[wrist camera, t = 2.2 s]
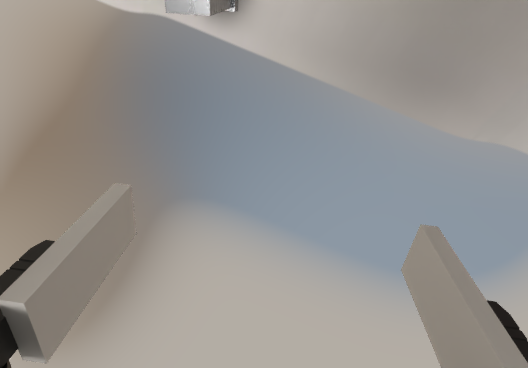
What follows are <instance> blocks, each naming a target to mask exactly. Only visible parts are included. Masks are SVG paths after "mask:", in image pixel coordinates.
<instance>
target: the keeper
mask: <svg viewBox="0 0 528 368" xmlns="http://www.w3.org/2000/svg"><path fill="white" fill-rule="evenodd" d="M165 7H166V13H177V14H191V15H205V16H211V15H214V14H217V13H219V12H222V11H237V0H165Z"/></svg>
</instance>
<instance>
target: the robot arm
mask: <svg viewBox="0 0 528 368" xmlns="http://www.w3.org/2000/svg"><path fill="white" fill-rule="evenodd" d="M136 233H137V232H136V223H135V214H134V205H133V197H132V187H131V185H126V184H119V183H114V184H113V185H112V186H111V187H110V188H109V189H108V190H107V191H106V192H105V193H104V194H103V195H102V196H101V197H100V198H99V199H98V200H97V201H96V202H95V203H94V204H93V205H92V206H91V207H90V208H89V209H88V210H87V211H86V212H85V213H84V214H83V215H82V216H81V217H80V218H79V219H78V220H77V221H76V222H75V223H74V224H73V225H72V226H71V227H70V228H69V229H68V230H67V231H66V232H64V233H63V234H62V236H60V238H58V240H56V241H49V240H45V241H43V242H41V243H40V244H38V245H36V246H34V247H32V248H31V249H30V250H28V251H27V252H26V253H25V254H24V255H23V256H22V257H21V258H20V259H19V261H16V262H15V263H14V264H13V265H12V266H11V267H10V269H9V270H6V272H4V273H3V274H2V275H1V276H0V368H11V365H10V362H9V359H10V358H11V356H12V355H13V354H14V353H15V351H16V350H17V349H18V350H19V353H20V355H21V357H22V359H23V360H26V361H33V362H40V363H47V362H48V360H49V359H50V357H51V356H52V355H53V353H54V352H55V350H56V349H57V348H58V346H59V345H60V343H61V342H62V340H63V339H64V337H65V336H66V335H67V333H68V332H69V330H70V329H71V327H72V326H73V324H74V323H75V322H76V320H77V319H78V317H79V316H80V314H81V313H82V311H83V310H84V309H85V307H86V306H87V304H88V303H89V301H90V300H91V298H92V297H93V296H94V294H95V293H96V291H97V290H98V288H99V287H100V285H101V284H102V282H103V281H104V280H105V278H106V277H107V275H108V274H109V272H110V271H111V270H112V268H113V267H114V265H115V264H116V262H117V261H118V259H119V258H120V257H121V255H122V254H123V252H124V251H125V249H126V248H127V246H128V245H129V243H130V242H131V241H132V239H133V238H134V236H135V235H136ZM401 271H402V273H403V276H404V278H405V281H406V283H407V286H408V288H409V290H410V293H411V295H412V298H413V300H414V302H415V305H416V307H417V310H418V312H419V315H420V317H421V320H422V322H423V324H424V327H425V329H426V332H427V334H428V337H429V339H430V341H431V344H432V346H433V349H434V351H435V353H436V356H437V358H438V361H439V363H440V366H441V368H528V341H527V338H526V337H525V335H524V334H523V332H522V331H520V330H519V327H518V325H517V324H516V323H515V321H514V320H513V318H512V317H511V315H510V314H509V313H508V312H506V310H504V309H503V308H502V307H501V306H500V305H499V304H498V303H497V302H494V301H487V300H486V299H485V298H484V296H483V295H482V293H481V292H480V290H479V289H478V287H477V285H476V284H475V282H474V281H473V279H472V278H471V276H470V275H469V273H468V272H467V270H466V269H465V267H464V266H463V264H462V263H461V261H460V260H459V258H458V257H457V255H456V254H455V252H454V251H453V249H452V248H451V246H450V245H449V243H448V242H447V240H446V238H445V237H444V235H443V234H442V232H441V231H440V229H439V228H438V227H436V226H435V227H434V226H428V225H420V227H419V230H418V232H417V234H416V237H415V239H414V241H413V243H412V246H411V248H410V250H409V253H408V255H407V258H406V260H405V262H404V264H403V267H402V269H401Z"/></svg>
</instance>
